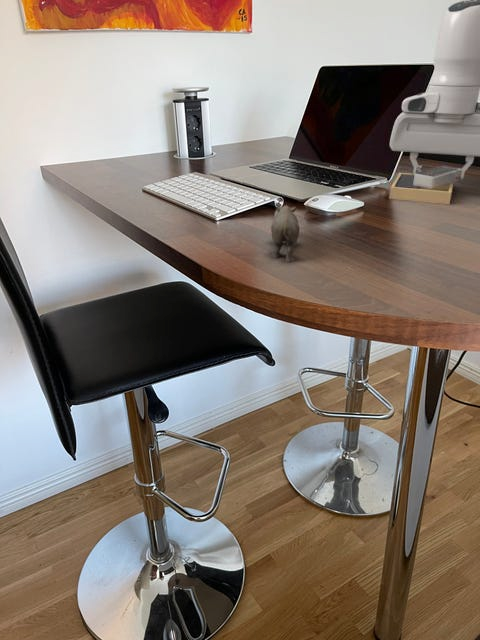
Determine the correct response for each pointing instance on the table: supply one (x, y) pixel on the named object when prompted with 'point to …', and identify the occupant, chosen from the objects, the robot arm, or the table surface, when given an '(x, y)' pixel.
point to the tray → (421, 193)
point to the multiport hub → (435, 177)
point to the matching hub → (407, 182)
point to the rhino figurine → (285, 231)
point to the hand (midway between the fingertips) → (437, 176)
